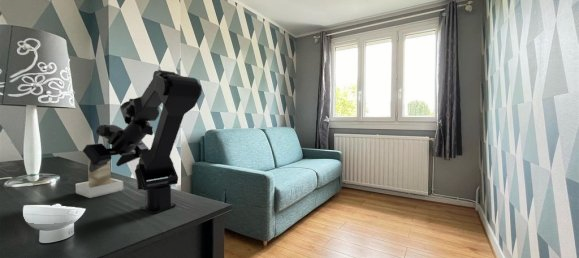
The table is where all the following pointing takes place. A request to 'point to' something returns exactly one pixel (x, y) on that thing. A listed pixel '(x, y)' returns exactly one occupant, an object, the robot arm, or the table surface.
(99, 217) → the table surface
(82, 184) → the tray
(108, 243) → the table surface
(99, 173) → the birch block
